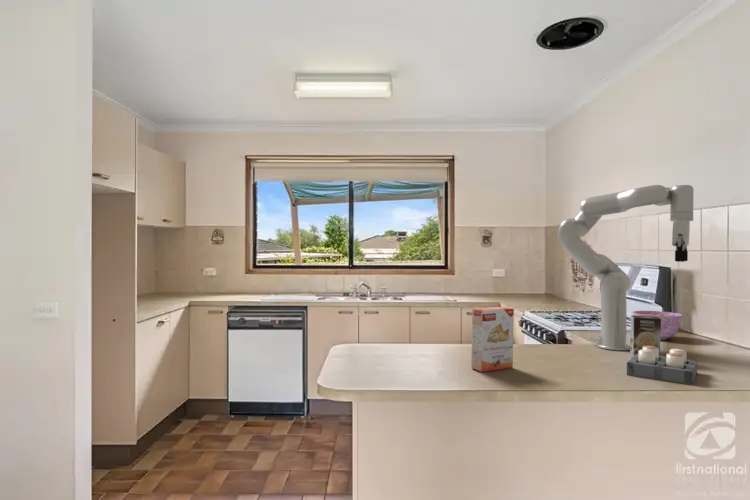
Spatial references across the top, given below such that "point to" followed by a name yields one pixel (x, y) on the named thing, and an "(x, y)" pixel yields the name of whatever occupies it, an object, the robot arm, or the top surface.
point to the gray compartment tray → (663, 370)
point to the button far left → (653, 350)
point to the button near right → (675, 360)
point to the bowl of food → (664, 321)
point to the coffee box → (644, 333)
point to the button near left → (646, 357)
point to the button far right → (679, 353)
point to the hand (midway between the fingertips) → (681, 261)
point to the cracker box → (492, 338)
